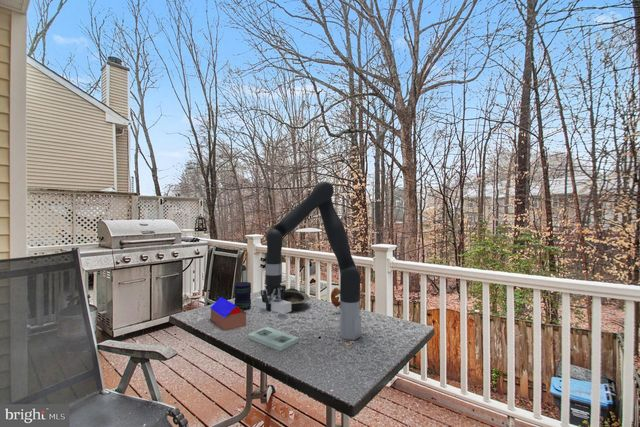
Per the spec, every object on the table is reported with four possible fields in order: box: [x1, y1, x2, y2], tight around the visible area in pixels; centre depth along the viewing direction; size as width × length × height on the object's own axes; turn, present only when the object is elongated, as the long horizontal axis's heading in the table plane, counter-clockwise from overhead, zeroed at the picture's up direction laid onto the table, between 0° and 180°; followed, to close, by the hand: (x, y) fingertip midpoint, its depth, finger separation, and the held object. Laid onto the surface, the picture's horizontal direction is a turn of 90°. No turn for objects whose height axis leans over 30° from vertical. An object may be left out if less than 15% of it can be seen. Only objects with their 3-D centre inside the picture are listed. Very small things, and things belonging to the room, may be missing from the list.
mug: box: [330, 287, 340, 308], centre depth 182 cm, size 15×8×15 cm, turn 84°
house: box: [209, 296, 247, 331], centre depth 167 cm, size 12×20×12 cm, turn 39°
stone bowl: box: [269, 288, 310, 312], centre depth 194 cm, size 25×25×9 cm
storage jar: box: [233, 281, 252, 312], centre depth 191 cm, size 10×10×15 cm
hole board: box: [247, 326, 300, 352], centre depth 145 cm, size 21×12×2 cm, turn 52°
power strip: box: [255, 295, 292, 320], centre depth 145 cm, size 18×5×7 cm, turn 52°
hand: (273, 309), depth 145 cm, fingers closed on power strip, 5 cm apart
